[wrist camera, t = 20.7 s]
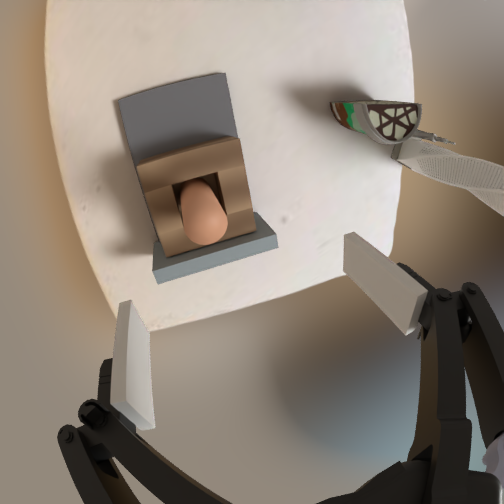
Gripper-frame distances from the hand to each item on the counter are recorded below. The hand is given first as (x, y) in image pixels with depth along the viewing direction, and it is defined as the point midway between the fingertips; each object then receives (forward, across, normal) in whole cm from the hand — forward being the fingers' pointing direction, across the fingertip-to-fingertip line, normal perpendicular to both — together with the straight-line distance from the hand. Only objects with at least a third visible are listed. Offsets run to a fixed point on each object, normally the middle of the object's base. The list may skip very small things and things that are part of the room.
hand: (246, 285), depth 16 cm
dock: (+25, -1, +3) cm, 25 cm away
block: (+24, -1, -1) cm, 24 cm away
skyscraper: (+25, +39, -2) cm, 47 cm away
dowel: (+22, -1, -1) cm, 23 cm away
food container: (+25, +26, +5) cm, 37 cm away
